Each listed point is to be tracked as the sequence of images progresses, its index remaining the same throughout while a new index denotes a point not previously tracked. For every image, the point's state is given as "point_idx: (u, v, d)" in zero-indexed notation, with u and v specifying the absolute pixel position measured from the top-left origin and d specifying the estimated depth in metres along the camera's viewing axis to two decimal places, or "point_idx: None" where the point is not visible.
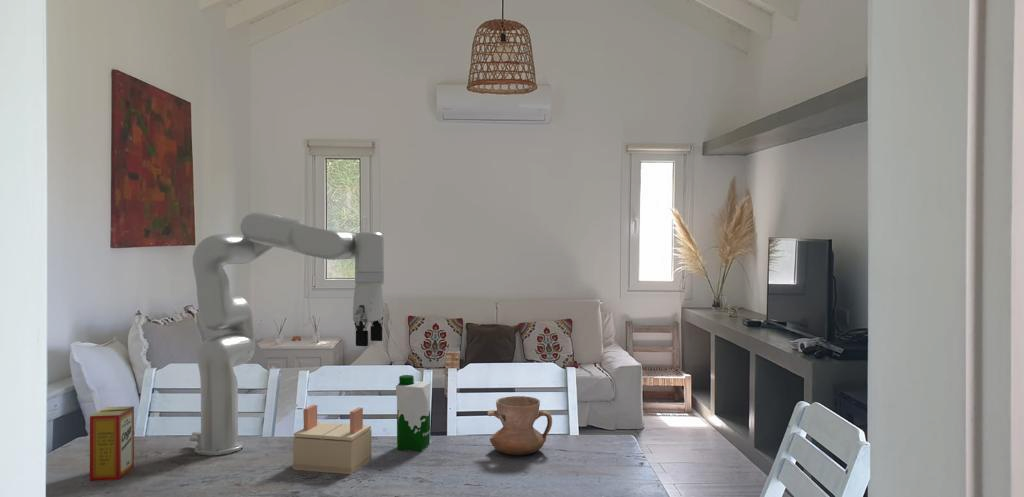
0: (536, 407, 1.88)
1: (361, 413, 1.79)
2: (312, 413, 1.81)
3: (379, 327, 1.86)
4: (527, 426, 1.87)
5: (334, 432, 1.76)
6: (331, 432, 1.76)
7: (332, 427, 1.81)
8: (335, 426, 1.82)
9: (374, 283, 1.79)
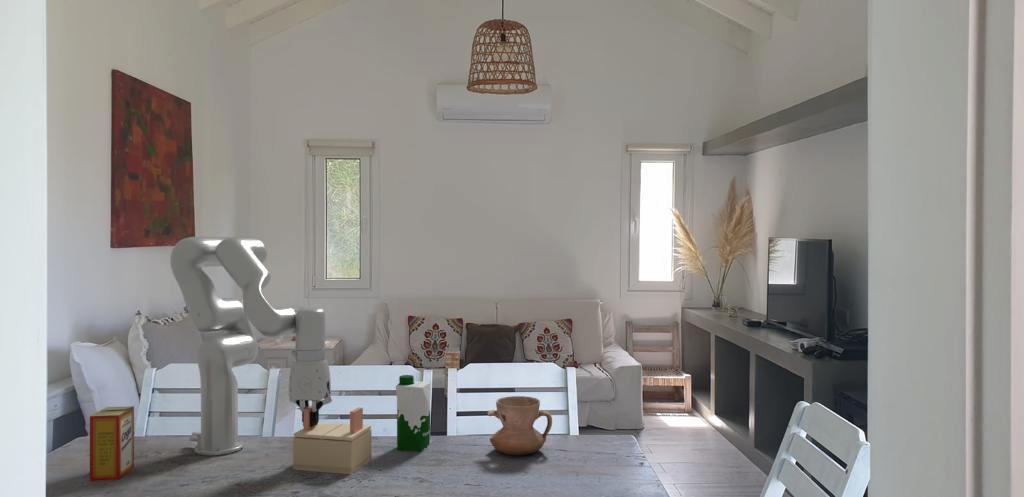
0: (536, 407, 1.88)
1: (361, 413, 1.79)
2: None
3: None
4: (527, 426, 1.87)
5: (334, 432, 1.76)
6: (331, 432, 1.76)
7: (332, 427, 1.81)
8: (335, 426, 1.82)
9: None
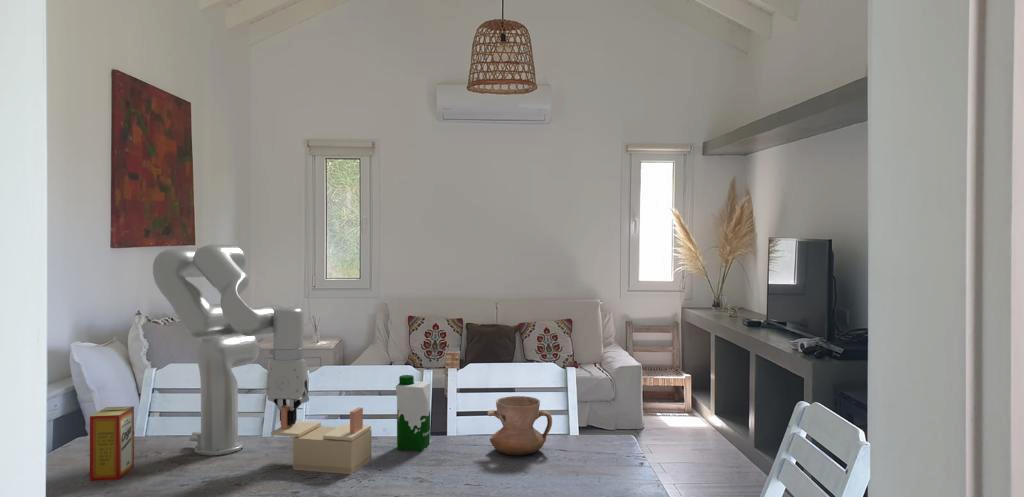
0: (536, 407, 1.88)
1: (361, 413, 1.79)
2: None
3: None
4: (527, 426, 1.87)
5: (334, 432, 1.76)
6: (331, 432, 1.76)
7: (310, 426, 1.83)
8: (313, 425, 1.84)
9: None
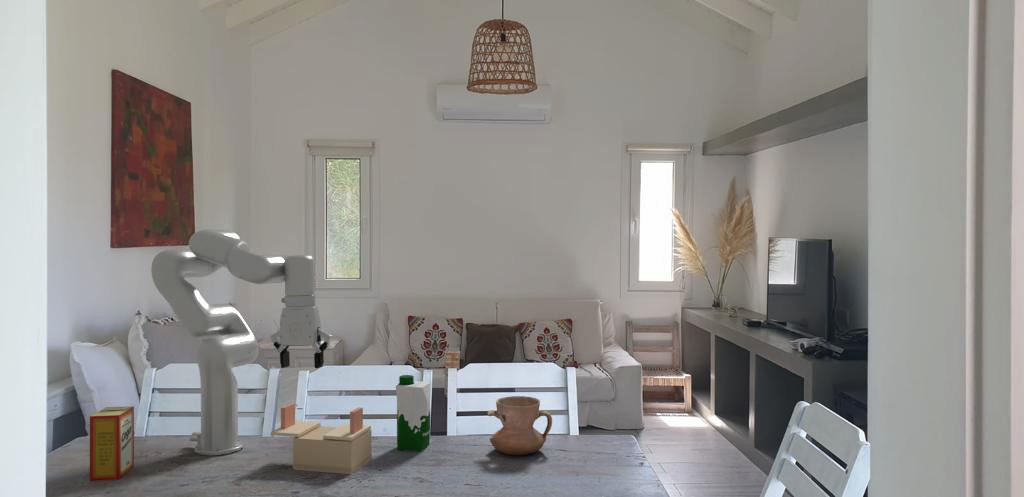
0: (536, 407, 1.88)
1: (361, 413, 1.79)
2: (290, 412, 1.82)
3: (288, 352, 1.83)
4: (527, 426, 1.87)
5: (334, 432, 1.76)
6: (331, 432, 1.76)
7: (309, 426, 1.83)
8: (313, 425, 1.84)
9: None
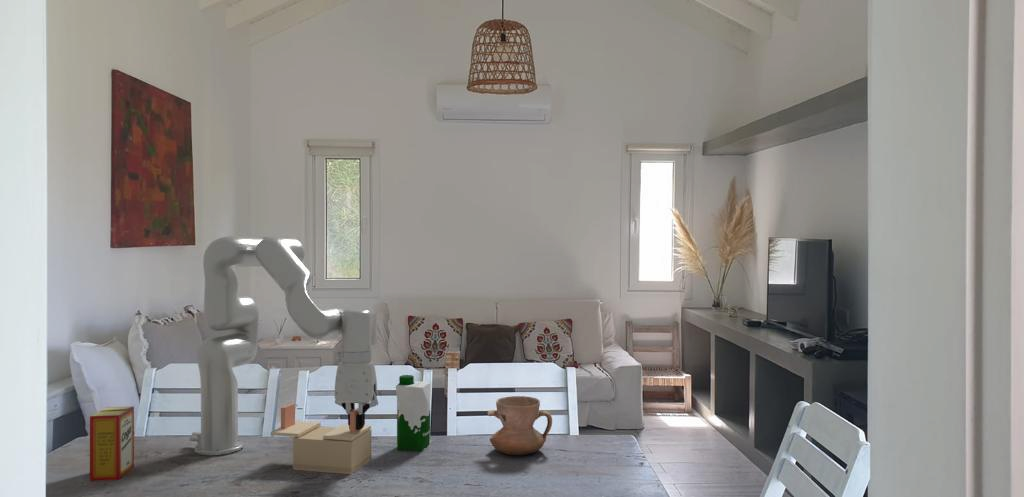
0: (536, 407, 1.88)
1: None
2: (290, 412, 1.82)
3: None
4: (527, 426, 1.87)
5: (334, 432, 1.76)
6: (331, 432, 1.76)
7: (309, 426, 1.83)
8: (313, 425, 1.84)
9: None
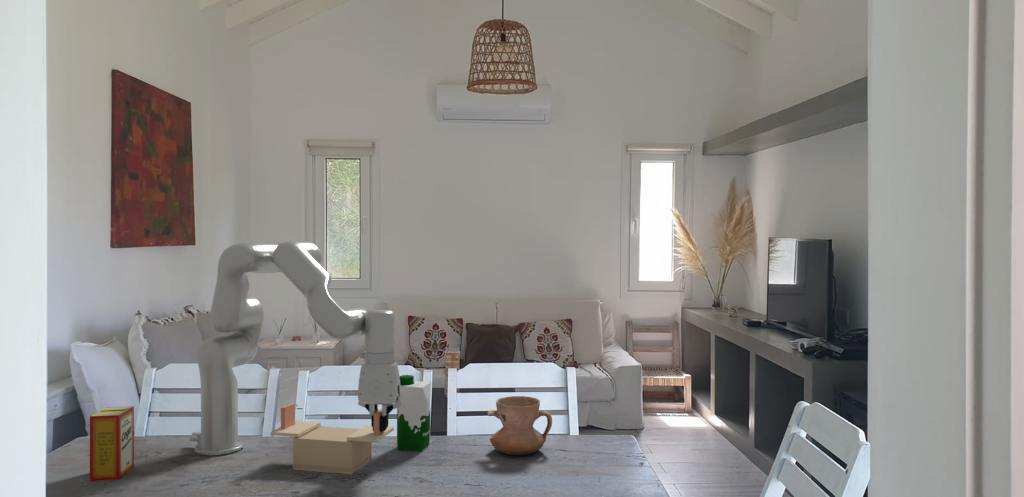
0: (536, 407, 1.88)
1: None
2: (290, 412, 1.82)
3: None
4: (527, 426, 1.87)
5: (357, 434, 1.75)
6: (354, 434, 1.75)
7: (309, 426, 1.83)
8: (313, 425, 1.84)
9: None
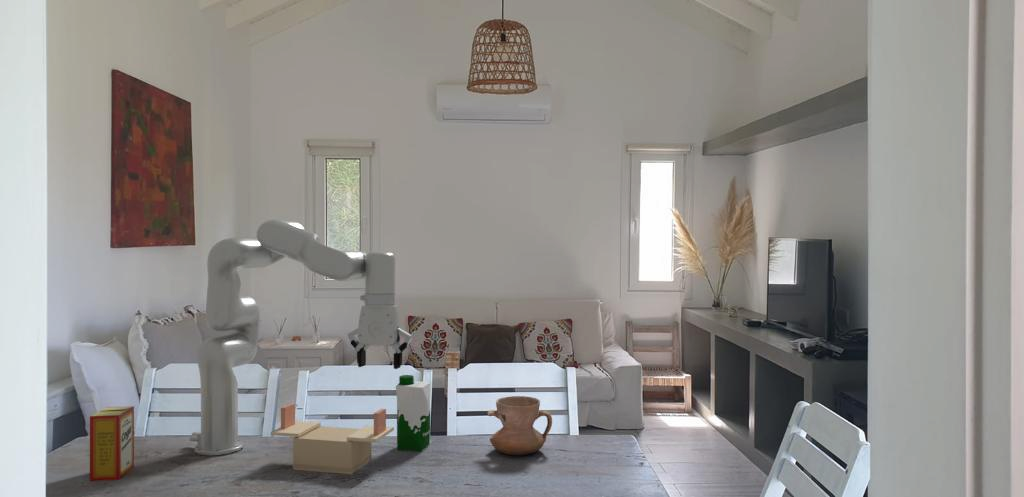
0: (536, 407, 1.88)
1: (384, 415, 1.78)
2: (290, 412, 1.82)
3: (364, 351, 1.78)
4: (527, 426, 1.87)
5: (357, 434, 1.75)
6: (354, 434, 1.75)
7: (309, 426, 1.83)
8: (313, 425, 1.84)
9: None
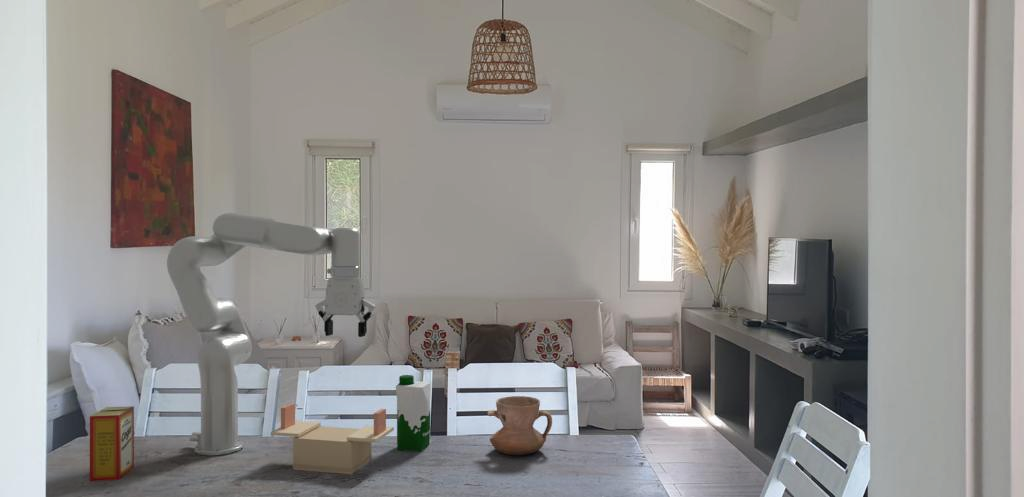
0: (536, 407, 1.88)
1: (384, 415, 1.78)
2: (290, 412, 1.82)
3: (331, 321, 1.90)
4: (527, 426, 1.87)
5: (357, 434, 1.75)
6: (354, 434, 1.75)
7: (309, 426, 1.83)
8: (313, 425, 1.84)
9: None
